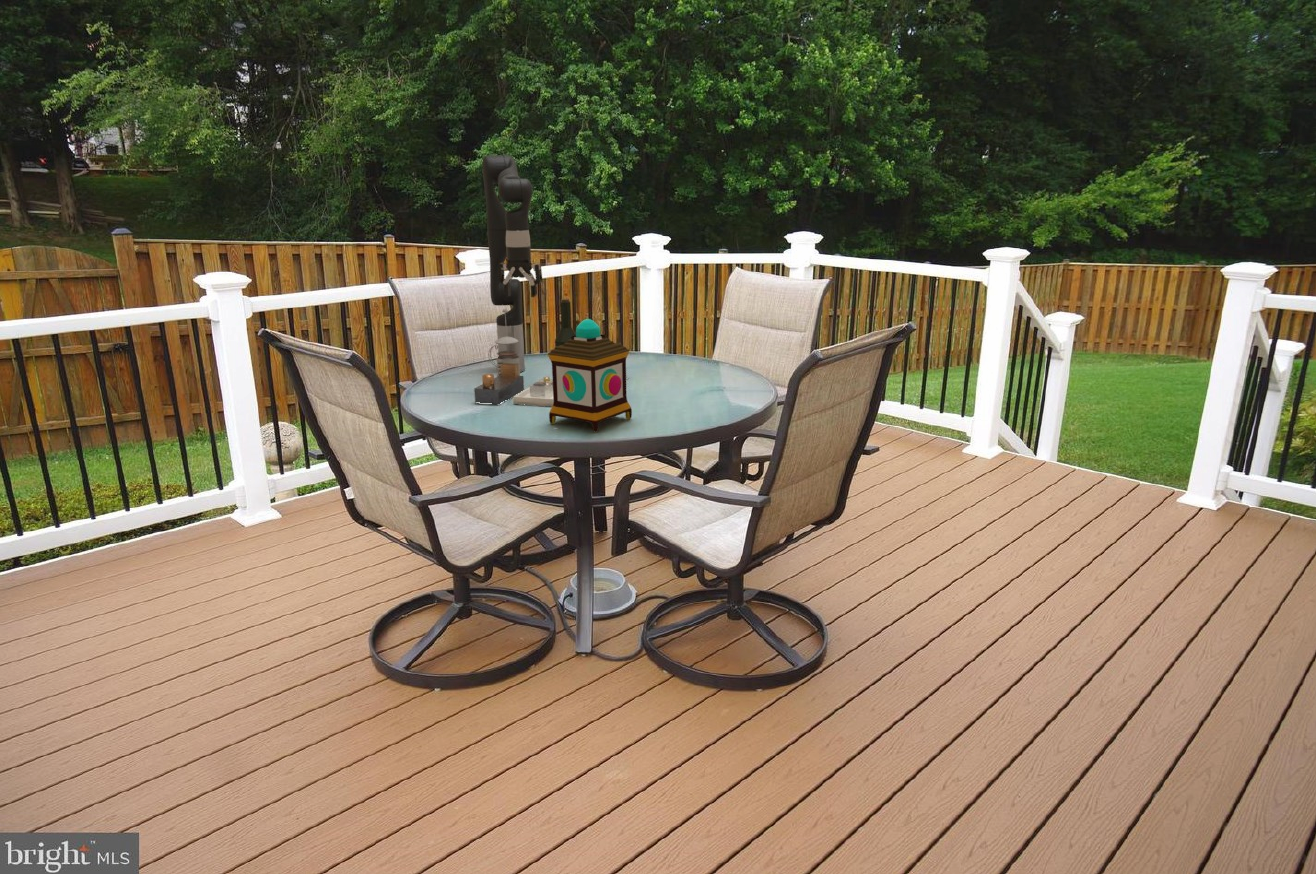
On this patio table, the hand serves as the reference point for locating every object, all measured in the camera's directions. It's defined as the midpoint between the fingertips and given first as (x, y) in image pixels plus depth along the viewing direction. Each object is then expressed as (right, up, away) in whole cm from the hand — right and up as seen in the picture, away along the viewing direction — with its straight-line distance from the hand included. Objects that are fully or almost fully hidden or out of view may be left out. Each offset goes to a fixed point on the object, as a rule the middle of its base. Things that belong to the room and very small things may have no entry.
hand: (520, 296), depth 280 cm
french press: (-9, -25, +27) cm, 38 cm away
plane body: (-7, -32, +3) cm, 33 cm away
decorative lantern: (+24, -41, -25) cm, 54 cm away
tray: (+7, -33, 0) cm, 34 cm away
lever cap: (+7, -32, -1) cm, 33 cm away
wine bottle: (+14, -29, +13) cm, 35 cm away
